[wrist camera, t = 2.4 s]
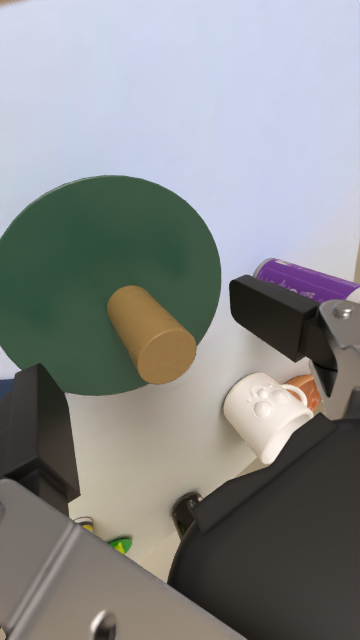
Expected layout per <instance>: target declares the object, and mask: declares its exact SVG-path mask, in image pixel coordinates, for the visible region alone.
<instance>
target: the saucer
mask: <svg viewBox="0 0 360 640" xmlns="http://www.w3.org/2000/svg"><path fill="white" fill-rule="evenodd" d="M285 384H289V385H293V386H295V387H297V388H299V389H300V390H301V391H303V393H304V394H305V396H306V398H307V407H308V408H309V409H310V410H311V411H312V412H314V411H315V410H316V408H317V407H318V405H319V403H320V401H321V397H320V395H319V392H318V389H317V387H316V384H315V381H314V378H313V376H312V375H304V376H298V377H295V378H293V379H291V380H289V381H288V382H286V383H285ZM286 390H287V389H286ZM287 391H288V392H289V393H291V394H292V395H293V396H294V397H295V398H297V399H298V400H299V401H300V402H301V398H300V396H299V395H298V394H297V393H296V392H294V391H292V390H287Z"/></svg>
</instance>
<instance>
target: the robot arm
mask: <svg viewBox="0 0 360 640" xmlns="http://www.w3.org/2000/svg"><path fill="white" fill-rule="evenodd" d="M229 292H230V309H231V314H232V316H233V318H234V320H235V321H236V322H237V323H239V324H240V325H241V326H243V327H244V328H246V329H247V330H249V331H250V332H252V333H253V334H254V335H256V336H257V337H259V338H260V339H262V340H263V341H265V342H266V343H267V344H269V345H270V346H272V347H273V348H275V349H276V350H278V351H279V352H280V353H282V354H283V355H285V356H286V357H288V358H289V359H291V360H292V361H293V362H295V363H296V362H297V361H299V360H301V359H302V358H304V357H305V356H306V357H308V358H309V368H310V370H311V373H312V376H313V378H314V381H315V384H316V387H317V389H318V392H319V395H320V397H321V400H322V403H323V406H324V415H323V414H322V413H321V412H320V413H318V414H317V415H316V416H314V417H313V418H311V419H310V420H309V421H307V422H306V423H305V424H303V425H302V426H301V427H299V428H298V429H297V430H295V431H294V432H293V433H292V435H291V436H290V438H289V439H288V441H287V442H286V444H285V445H284V447H283V448H282V450H281V451H280V453H279V454H278V456H277V457H276V459H275V460H274V462H273V463H272V464H271V465H270V466H268V467H266V468H263V469H260V470H257V471H254V472H252V473H249V474H246V475H243V476H240V477H237V478H234V479H231V480H229V481H227V482H225V483H224V484H223V485H221V486H220V487H219V488H217V489H216V490H215V491H213V492H212V493H211V494H209V495H208V496H206V497H205V498H204V499H202V500H201V501H200V502H198V503H197V504H196V505H194V506H193V507H192V508H190V509H191V512H192V514H193V516H194V519H195V520H194V522H193V523H192V524H191V526H190V527H189V528H188V530H187V532H186V533H185V535H184V537H183V539H182V540H181V542H180V545H179V547H178V549H177V552H176V554H175V556H174V559H173V562H172V565H171V569H170V572H169V576H168V581H167V584H166V583H165V582H163V581H162V580H160V579H159V578H157V577H156V576H154V575H153V574H151V573H150V572H149V571H147V570H146V569H144V568H143V567H141V566H140V565H138V564H137V563H135V562H134V561H133V560H131V559H130V558H128V557H127V556H125V555H124V554H122V553H121V552H119V551H118V550H116V549H115V548H114V547H112V546H111V545H109V544H108V543H106V542H105V541H103V540H102V539H100V538H99V537H98V536H96V535H95V534H93V533H92V532H90V531H89V530H87V529H86V528H84V527H83V526H81V525H80V524H78V523H77V522H75V521H73V520H72V519H70V518H69V509H68V503H69V502H71V501H72V500H74V499H76V498H77V497H79V496H80V495H81V494H80V487H79V480H78V472H77V465H76V458H75V451H74V443H73V436H72V429H71V422H70V414H69V407H68V403H67V400H66V397H65V395H64V393H63V392H62V390H61V389H60V387H59V386H58V385H57V383H56V382H55V380H54V379H53V378H52V376H51V375H50V374H49V372H48V371H47V369H46V368H45V367H44V366H43V365H42V364H41V363H38V364H36V365H34V366H31V367H29V368H27V369H24V370H22V371H20V372H17V373H16V374H15V378H14V386H13V391H12V392H9V393H7V394H5V395H4V396H3V398H2V399H1V401H0V628H1V627H2V629H3V630H4V632H5V634H6V639H5V640H360V304H358V303H356V302H353V301H349V300H341V299H335V300H328V301H325V302H323V303H320V302H317V301H315V300H313V299H310V298H308V297H305V296H303V295H301V294H298V293H296V292H293V291H290V290H289V289H286V288H282V286H279V285H277V284H274V283H272V282H266V281H261V280H259V279H257V278H254V277H252V276H250V275H243V276H241V277H239V278H237V279H234V280H232V281H231V282H230V284H229Z"/></svg>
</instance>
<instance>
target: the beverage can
mask: <svg viewBox="0 0 360 640" xmlns="http://www.w3.org/2000/svg"><path fill="white" fill-rule="evenodd" d="M202 499H203V498H202V496H201V494H199V493H188V494H186V495H184V496H183V497H181V498H180V499H179V500H178V501H177V502H176V504H175V505H174V508H173V511H172V514H171V517H172V519H173V522H174V525H175V527H176V530H177V532H178V535H179V537H180V540H182V539H183V537H184V535H185V533H186V532H187V530H188V528H189V527H190V526H191V524H192V523H193V522H194V520H195V519H194V516H193V514H192V512H191V509H190V508H192V507H193V506H194V505H196V504H197V503H198V502H200V501H201V500H202Z"/></svg>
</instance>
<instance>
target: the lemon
mask: <svg viewBox="0 0 360 640" xmlns="http://www.w3.org/2000/svg"><path fill="white" fill-rule="evenodd" d="M131 544H132V541H131V540H130V539H120V540H116V541H113V542H111V543H109V545H111V546H112V547H114V548H115V549H116V550H118V551H119V552H121V553H122V554H124V555H125V553H126V552H127V551H128V550H129V549H130V547H131Z"/></svg>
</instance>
